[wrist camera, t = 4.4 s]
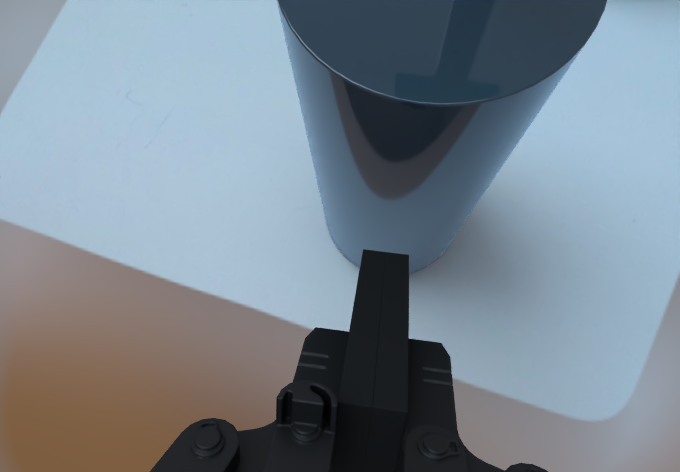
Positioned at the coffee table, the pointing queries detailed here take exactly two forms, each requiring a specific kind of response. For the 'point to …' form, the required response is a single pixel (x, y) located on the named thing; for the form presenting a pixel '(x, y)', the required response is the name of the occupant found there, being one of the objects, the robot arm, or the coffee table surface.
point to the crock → (421, 106)
